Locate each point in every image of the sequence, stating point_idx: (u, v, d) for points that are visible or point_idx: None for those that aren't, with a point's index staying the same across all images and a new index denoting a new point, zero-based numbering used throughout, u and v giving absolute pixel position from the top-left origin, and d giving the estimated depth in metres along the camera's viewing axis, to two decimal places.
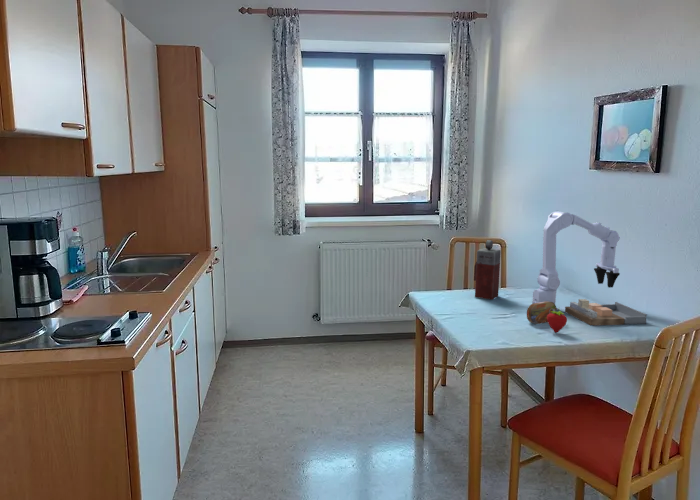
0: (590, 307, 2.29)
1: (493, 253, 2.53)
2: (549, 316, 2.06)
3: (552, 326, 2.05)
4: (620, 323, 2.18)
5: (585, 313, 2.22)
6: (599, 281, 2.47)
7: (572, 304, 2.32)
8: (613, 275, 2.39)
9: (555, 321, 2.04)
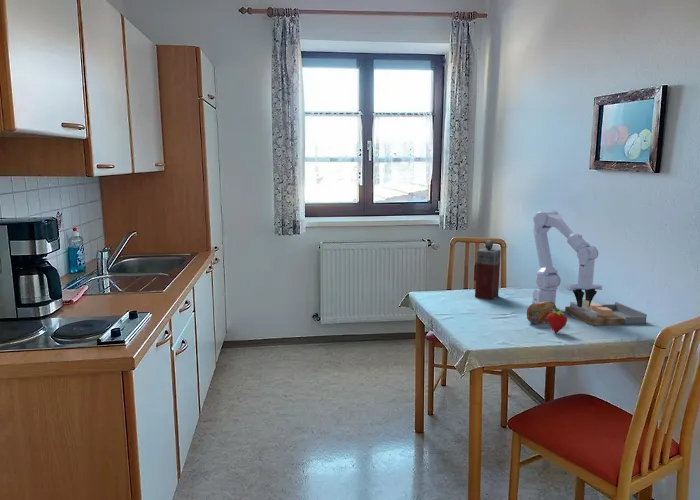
0: (590, 307, 2.29)
1: (493, 253, 2.53)
2: (549, 316, 2.06)
3: (552, 326, 2.05)
4: (620, 323, 2.18)
5: (585, 313, 2.22)
6: None
7: (572, 304, 2.32)
8: None
9: (555, 321, 2.04)
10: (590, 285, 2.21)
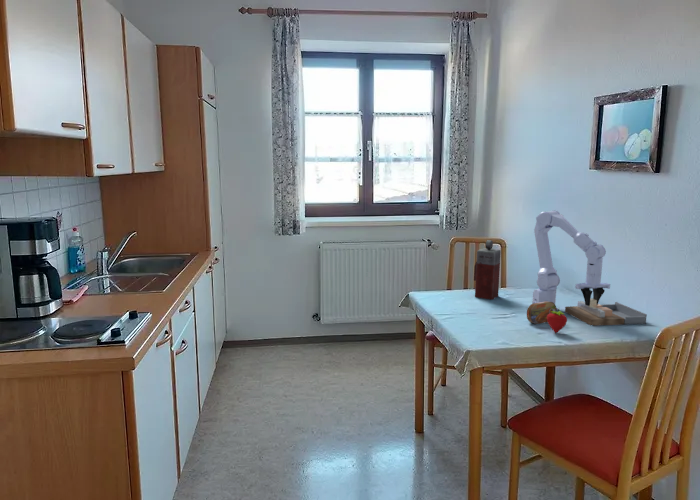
0: None
1: (493, 253, 2.53)
2: (549, 316, 2.06)
3: (552, 326, 2.05)
4: (620, 323, 2.18)
5: (593, 312, 2.23)
6: None
7: (580, 303, 2.32)
8: None
9: (555, 321, 2.04)
10: (598, 284, 2.22)
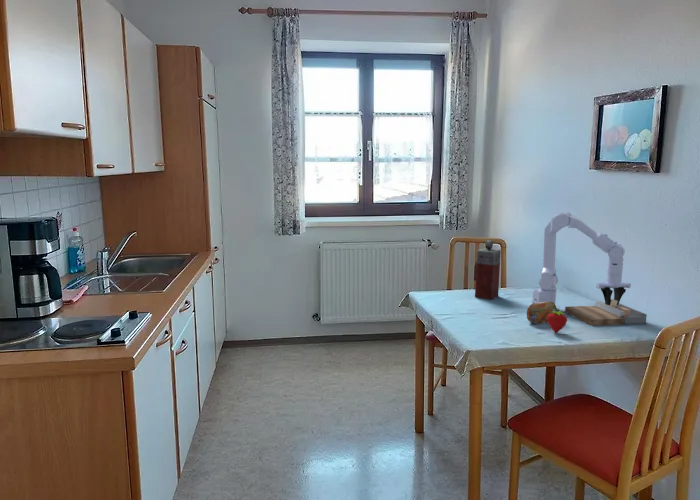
0: None
1: (493, 253, 2.53)
2: (549, 316, 2.06)
3: (552, 326, 2.05)
4: (620, 323, 2.18)
5: (612, 312, 2.24)
6: None
7: (598, 303, 2.34)
8: None
9: (555, 321, 2.04)
10: (619, 283, 2.23)
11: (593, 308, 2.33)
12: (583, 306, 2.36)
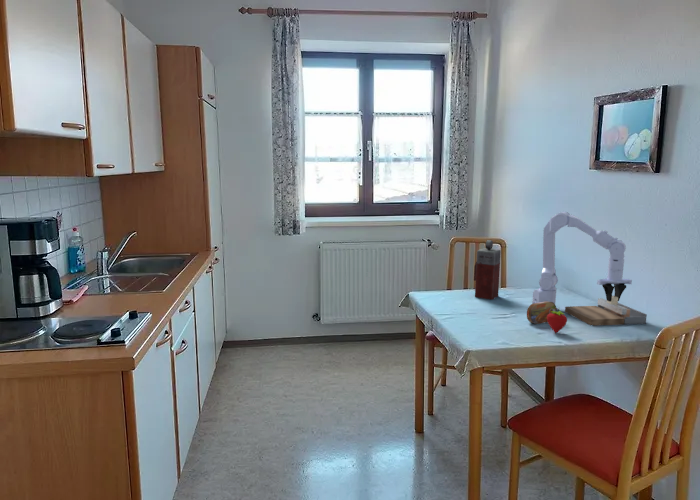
0: (608, 309, 2.31)
1: (493, 253, 2.53)
2: (549, 316, 2.06)
3: (552, 326, 2.05)
4: (620, 323, 2.18)
5: (614, 309, 2.24)
6: None
7: (600, 300, 2.34)
8: None
9: (555, 321, 2.04)
10: (620, 279, 2.23)
11: (593, 308, 2.33)
12: (583, 306, 2.36)
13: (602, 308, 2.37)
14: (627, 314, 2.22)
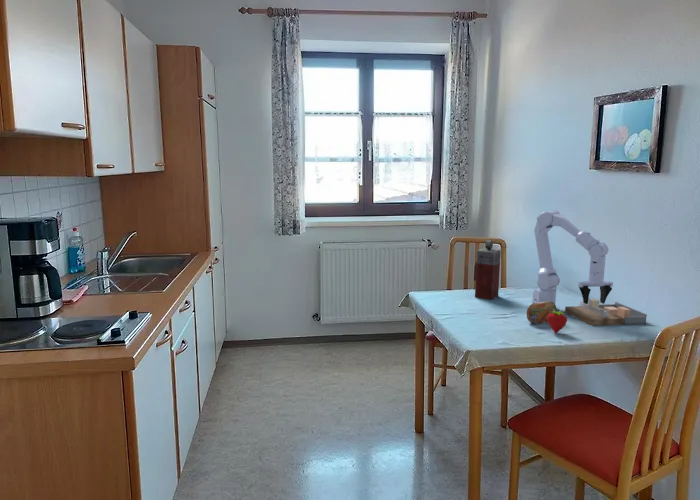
0: None
1: (493, 253, 2.53)
2: (549, 316, 2.06)
3: (552, 326, 2.05)
4: (620, 323, 2.18)
5: (595, 313, 2.23)
6: (600, 300, 2.27)
7: (582, 304, 2.33)
8: None
9: (555, 321, 2.04)
10: (601, 282, 2.22)
11: None
12: None
13: (602, 308, 2.37)
14: (627, 314, 2.22)
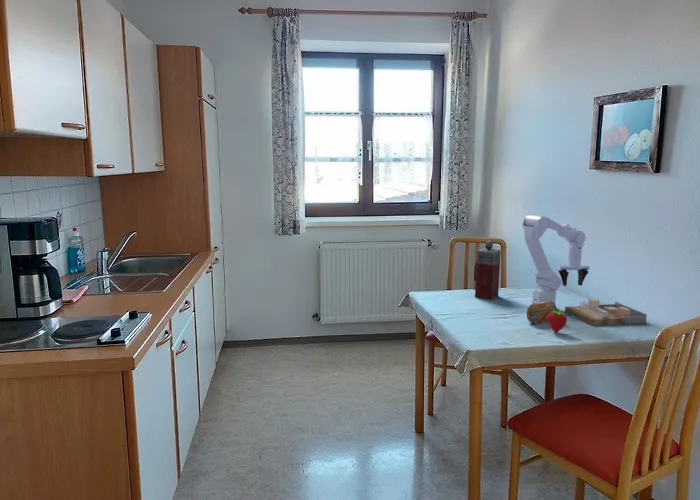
0: None
1: (493, 253, 2.53)
2: (549, 316, 2.06)
3: (552, 326, 2.05)
4: (620, 323, 2.18)
5: (595, 313, 2.23)
6: (578, 282, 2.47)
7: (582, 304, 2.33)
8: None
9: (555, 321, 2.04)
10: (578, 265, 2.42)
11: None
12: None
13: (602, 308, 2.37)
14: (627, 314, 2.22)
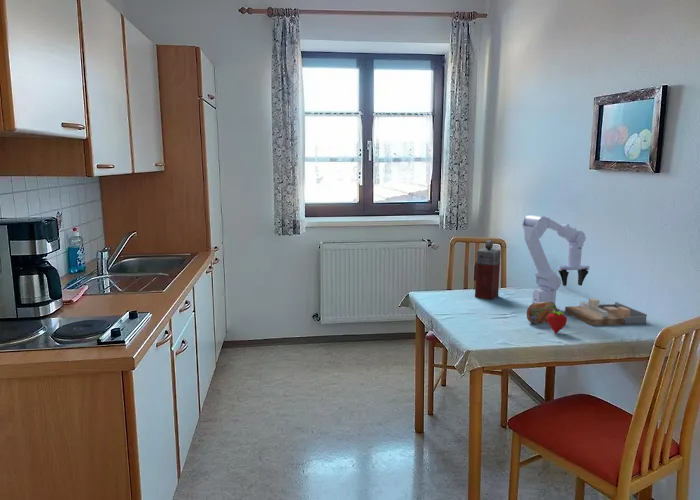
0: None
1: (493, 253, 2.53)
2: (549, 316, 2.06)
3: (552, 326, 2.05)
4: (620, 323, 2.18)
5: (595, 313, 2.23)
6: (578, 282, 2.47)
7: (582, 304, 2.33)
8: None
9: (555, 321, 2.04)
10: (578, 265, 2.42)
11: None
12: None
13: (602, 308, 2.37)
14: (627, 314, 2.22)
